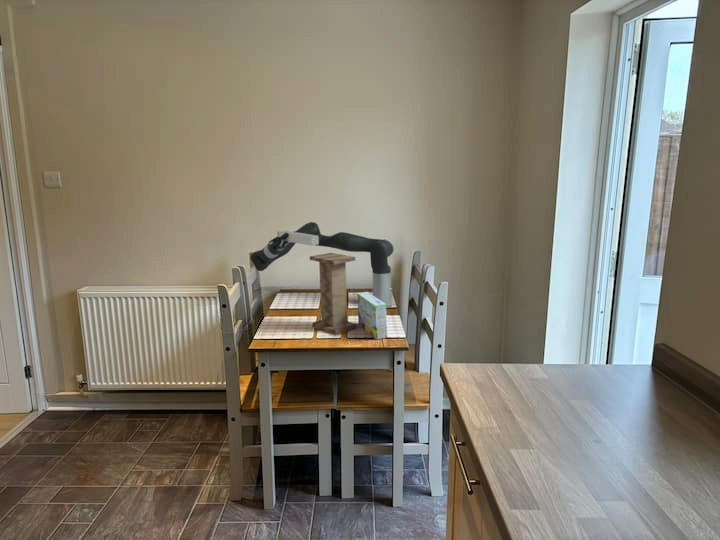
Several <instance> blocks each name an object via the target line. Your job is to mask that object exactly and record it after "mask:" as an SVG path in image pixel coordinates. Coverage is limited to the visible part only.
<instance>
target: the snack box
mask: <svg viewBox="0 0 720 540" xmlns="http://www.w3.org/2000/svg"><path fill="white" fill-rule="evenodd" d="M356 297H357V298H356V299H357V318H358V322H357V323H358V324H357V325H359V327H360V328H361V329H363V330H364V331H365V332H367V333H368V334H369V335H370V336H371V337H372V338H373V340H376V341H377V340H378V341H379V340H383V339H387V338H388V333H387V332H388V330H387V329H388V328H387V326H388V325H387V322H388V320H387V307H386V304H385V303H383V302H382V301H380V300H379V299H377V298H376V297H374V296H373V294H371V293H370V292H369V291H365V292H357V293H356Z"/></svg>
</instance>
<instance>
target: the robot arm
mask: <svg viewBox="0 0 720 540" xmlns="http://www.w3.org/2000/svg"><path fill="white" fill-rule="evenodd" d="M293 232H297V233H304V234H311V235H317V236H318V240H319V245H314V246H315V247H325V248H326V247H327V248H331V249H337V250H341V251H345V252H350V253H351V252H352V253H363V252H364V253H369V254H370V258H369V259H370V267H371V269H372V295H373V296H374V297H376V298H377V299H379V300H380V301H382V302H383V303H385V304H386V308H387V307H392V301H393V300H392V298H393V297H392V295H393V294H392V292H393V291H392V286H391V285H392V274H391V273H392V267H391V266H390V265H389V262H388V261H389V260H388V258H389V257H390V256H392V254H393V253H394V245H393V244H392V242H391V241H389V240H387V239H380V238H371V237H366V236H361V235H357V234H354V233H349V232H341V231H340V232H337V233H335V234H332V235H324V234H321V230H320V227H319V224H318V223H316V222H313V221H311V222H307V223H305V224H304V225H302V226H301V227H299V228H298V229H296V230H295V231H293ZM287 237H288V234H287V233H285V234H283V235H282V236H280V237H278V236H276V237H274V238H272V239H271V240H269V241H268V243H267V244H266V245H265V246H264V247H263V248H262V249H260V250H256V251H254V252H252V253H251V254H250V257H249V258H250V261H251V263H252V264H253V266H254V268H255V269H256V270H257V271H259V272H263V271H265V270H266V269H267V268H268V267H269V266H270V265H272V263H274V262H275V261H276V260H278V259H280V258H281V257H284V256H285V255H288V253H289V252H290V251H291V250H292V249H293V248H294V246H295V245H296V243H293V242H288V241H284V240H285V239H286V238H287Z"/></svg>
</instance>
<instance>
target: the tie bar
mask: <svg viewBox="0 0 720 540" xmlns="http://www.w3.org/2000/svg"><path fill="white" fill-rule="evenodd" d="M285 233H287V234H288V237H287V238H286V239H285V240H284V241H288V242H293V243H295V244H300V245H306V246H315V245H319V240H318V236H317V235H311V234H304V233H297V232H294V231H291V230H279V231H277V237H280V236H282V235H283V234H285Z"/></svg>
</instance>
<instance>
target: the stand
mask: <svg viewBox="0 0 720 540" xmlns="http://www.w3.org/2000/svg"><path fill="white" fill-rule="evenodd" d="M309 261H313V262H318V263H319V264H318V265H319V266H318V267H319V290H320V291H319V292H320V314H321V315H320V316H321V317H320V320H317V321H313V322H311V323H312V325H311V326H312V327H313V328H315V329H317V330H320V331H324V332H327V333H329V334H332V335H334V336H338V335H340V334H345V333H347V332H349V331H352V330H356V329H357V327H358V326H357V325H358V324H357V323H355V322H351V321H349V320H348V312H347V311H348V308H347V306H348V305H347V275H346V274H347V271H346V268H347V267H346V263H350V262H354V261H355V262H356V257H355V256H353V255H352V256H351V255H346V254H339V253H335V252H327V253H320V254H315V255H311V256H309Z"/></svg>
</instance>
